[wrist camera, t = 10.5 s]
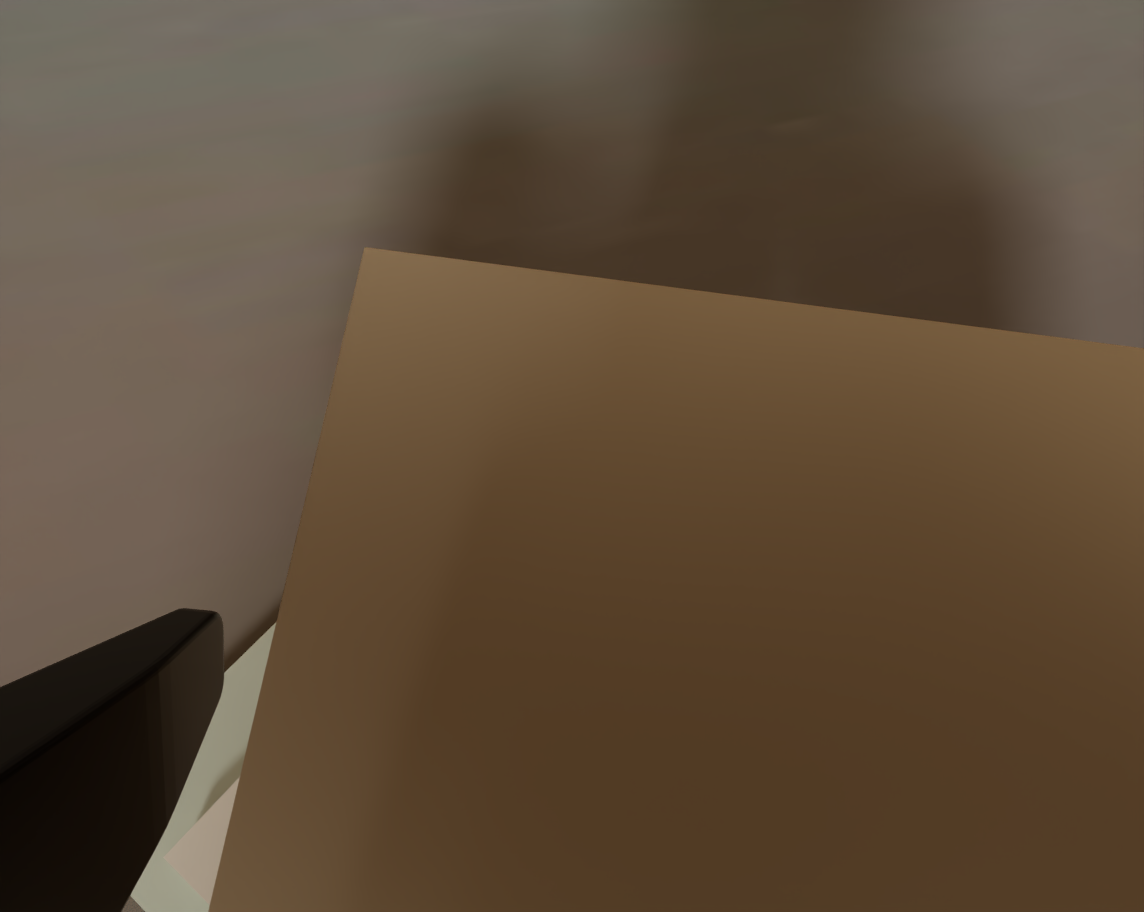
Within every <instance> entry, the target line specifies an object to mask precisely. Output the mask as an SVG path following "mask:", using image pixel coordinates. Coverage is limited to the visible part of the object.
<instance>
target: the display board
mask: <svg viewBox="0 0 1144 912" xmlns="http://www.w3.org/2000/svg"><path fill="white" fill-rule="evenodd" d="M275 626H276V623H275V624H274V625H273V626H272V627H271V628H270V629H269V630H268V631H267V632H266V633H265V634H264V635H263V636H261V637H260V638H259V639H258V640H257V641H256V642H255V643H254V644H253V645H252V646H251V647H250V648H249V649H248V650H247V651H246V652H245V653H244V654H243V655H242V656H241V657H240V658H239V659H238V660H237V661H236V662H235V663H234V664H233V665H232V666H231V667H230V668H229V669H228V670H227V671H226V672H225V673H224V685H223V690H222V694H221V698H220V700H219V703H218V705H217V708H216V710H215V713H214V715H213V718H212V720H211V722H210V725H209V727H208V730H207V732H206V735H205V737H204V740H203V742H202V744H201V747H200V749H199V752H198V754H197V757H196V759H195V761H194V764H193V766H192V769H191V771H190V774H189V776H188V778H187V781H186V783H185V786H184V788H183V791H182V793H181V796H180V798H179V800H178V803H177V805H176V808H175V810H174V812H173V814H172V817H171V819H170V821H169V824H168V826H167V828H166V830H165V832H164V834H163V836H162V838H161V840H160V842H159V844H158V845H157V847H156V849H155V851H154V853H153V855H152V857H151V859H150V860H149V862H148V864H147V866H146V868H145V870H144V871H143V873H142V875H141V877H140V879H139V880H138V882H137V884H136V886H135V888H134V890H133V891H132V893H131V895H130V896H131V897H132V898H133V899H134V900H135V901H136V902H137V903H138V904H139V905H140V906H141V907H142V908H143V910H144V911H145V912H208V910H209V906H210V902H211V898H212V893H213V889H214V885H215V881H216V876H217V872H218V868H219V864H220V859H221V855H222V851H223V847H224V842H225V838H226V834H227V830H228V825H229V821H230V817H231V813H232V808H233V804H234V800H235V796H236V791H237V787H238V783H239V779H240V774H241V770H242V766H243V762H244V757H245V753H246V749H247V745H248V740H249V736H250V732H251V728H252V723H253V719H254V715H255V711H256V706H257V702H258V698H259V694H260V690H261V685H262V681H263V677H264V673H265V668H266V664H267V660H268V656H269V651H270V647H271V643H272V639H273V634H274V630H275Z"/></svg>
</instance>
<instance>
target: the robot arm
mask: <svg viewBox="0 0 1144 912" xmlns="http://www.w3.org/2000/svg"><path fill="white" fill-rule="evenodd" d="M223 685H224V638H223V622H222V618H221V616H220V615H219V614H218V613H217V612H215V611H208V610H197V609H187V608H183V609H178V610H175V611H173V612H170V613H168V614H166V615H164V616H161V617H159V618H157V619H155V620H152V621H150V622H148V623H145V624H143V625H141V626H139V627H136V628H134V629H132V630H129V631H127V632H125V633H123V634H120V635H118V636H116V637H114V638H111V639H109V640H107V641H104V642H102V643H100V644H98V645H95V646H93V647H91V648H88V649H86V650H84V651H82V652H79V653H77V654H75V655H72V656H70V657H68V658H66V659H63V660H61V661H59V662H57V663H54V664H52V665H50V666H47V667H45V668H43V669H41V670H38V671H36V672H34V673H31V674H29V675H27V676H25V677H22V678H20V679H18V680H16V681H13V682H11V683H9V684H6V685H4V686H2V687H0V912H122V910H123V908H124V906H125V904H126V902H127V901H128V899H129V897H130V895H131V893H132V891H133V890H134V888H135V886H136V884H137V882H138V880H139V879H140V877H141V875H142V873H143V871H144V870H145V868H146V866H147V864H148V862H149V860H150V859H151V857H152V855H153V853H154V851H155V849H156V847H157V845H158V844H159V842H160V840H161V838H162V836H163V834H164V832H165V830H166V828H167V826H168V824H169V821H170V819H171V817H172V814H173V812H174V810H175V808H176V805H177V803H178V800H179V798H180V796H181V793H182V791H183V788H184V786H185V783H186V781H187V778H188V776H189V774H190V771H191V769H192V766H193V764H194V761H195V759H196V757H197V754H198V752H199V749H200V747H201V744H202V742H203V740H204V737H205V735H206V732H207V730H208V727H209V725H210V722H211V720H212V718H213V715H214V713H215V710H216V708H217V705H218V703H219V700H220V698H221V694H222V690H223Z"/></svg>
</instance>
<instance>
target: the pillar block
mask: <svg viewBox="0 0 1144 912" xmlns="http://www.w3.org/2000/svg"><path fill="white" fill-rule="evenodd" d="M208 912H1144V348H1136V347H1128V346H1121V345H1113V344H1105V343H1097V342H1090V341H1082V340H1074V339H1067V338H1059V337H1051V336H1044V335H1036V334H1028V333H1021V332H1013V331H1005V330H998V329H990V328H982V327H974V326H967V325H959V324H951V323H944V322H936V321H928V320H921V319H913V318H905V317H898V316H890V315H882V314H875V313H867V312H859V311H852V310H844V309H836V308H828V307H821V306H813V305H805V304H798V303H790V302H782V301H775V300H767V299H759V298H752V297H744V296H736V295H728V294H721V293H713V292H705V291H698V290H690V289H682V288H675V287H667V286H659V285H652V284H644V283H636V282H629V281H621V280H613V279H605V278H598V277H590V276H582V275H575V274H567V273H559V272H552V271H544V270H536V269H529V268H521V267H513V266H506V265H498V264H490V263H482V262H475V261H467V260H459V259H452V258H444V257H436V256H429V255H421V254H413V253H406V252H398V251H390V250H383V249H375V248H367V247H365V248H364V252H363V256H362V261H361V265H360V269H359V273H358V278H357V282H356V286H355V290H354V295H353V299H352V303H351V307H350V312H349V316H348V320H347V324H346V329H345V333H344V337H343V341H342V346H341V350H340V354H339V358H338V363H337V367H336V371H335V375H334V380H333V384H332V388H331V392H330V397H329V401H328V405H327V409H326V414H325V418H324V422H323V426H322V431H321V435H320V439H319V443H318V448H317V452H316V456H315V460H314V464H313V469H312V473H311V477H310V481H309V486H308V490H307V494H306V498H305V503H304V507H303V511H302V515H301V520H300V524H299V528H298V532H297V537H296V541H295V545H294V549H293V554H292V558H291V562H290V566H289V571H288V575H287V579H286V583H285V588H284V592H283V596H282V600H281V605H280V609H279V613H278V617H277V622H276V626H275V630H274V634H273V639H272V643H271V647H270V651H269V656H268V660H267V664H266V668H265V673H264V677H263V681H262V685H261V690H260V694H259V698H258V702H257V706H256V711H255V715H254V719H253V723H252V728H251V732H250V736H249V740H248V745H247V749H246V753H245V757H244V762H243V766H242V770H241V774H240V779H239V783H238V787H237V791H236V796H235V800H234V804H233V808H232V813H231V817H230V821H229V825H228V830H227V834H226V838H225V842H224V847H223V851H222V855H221V859H220V864H219V868H218V872H217V876H216V881H215V885H214V889H213V893H212V898H211V902H210V906H209V910H208Z"/></svg>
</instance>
